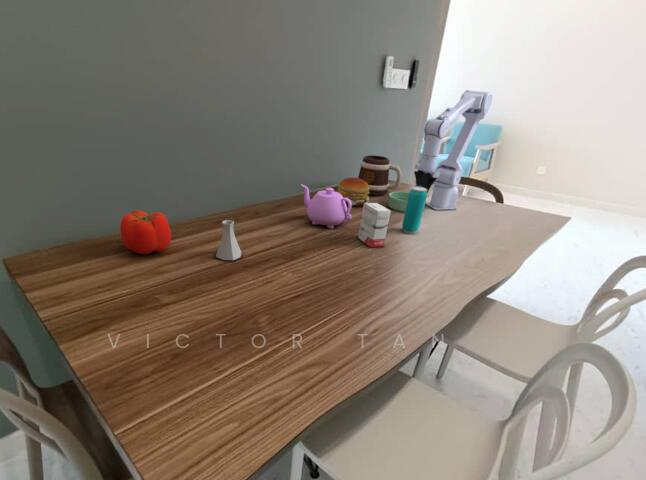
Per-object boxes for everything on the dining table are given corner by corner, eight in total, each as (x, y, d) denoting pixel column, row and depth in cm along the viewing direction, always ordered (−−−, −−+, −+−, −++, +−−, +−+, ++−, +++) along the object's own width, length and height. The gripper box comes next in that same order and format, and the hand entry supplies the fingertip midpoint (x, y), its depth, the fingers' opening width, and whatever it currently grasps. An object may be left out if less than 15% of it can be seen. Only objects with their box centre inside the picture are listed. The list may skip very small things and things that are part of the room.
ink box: (384, 246, 124) (391, 210, 118) (370, 248, 122) (377, 211, 116) (370, 236, 131) (376, 201, 125) (357, 237, 129) (363, 202, 123)
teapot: (289, 221, 138) (291, 187, 132) (307, 211, 149) (309, 179, 143) (342, 234, 131) (347, 198, 125) (356, 222, 142) (362, 188, 135)
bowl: (412, 202, 168) (414, 191, 166) (429, 212, 157) (431, 201, 154) (381, 202, 165) (383, 191, 163) (396, 213, 154) (399, 202, 151)
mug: (349, 192, 175) (354, 157, 168) (359, 185, 187) (364, 152, 179) (394, 200, 168) (401, 164, 161) (401, 193, 180) (408, 159, 172)
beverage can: (416, 229, 139) (426, 186, 132) (419, 235, 134) (430, 191, 127) (400, 227, 140) (409, 185, 132) (402, 233, 135) (412, 190, 127)
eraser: (425, 194, 154) (427, 184, 152) (429, 196, 151) (432, 187, 149) (411, 194, 152) (413, 184, 150) (415, 196, 149) (417, 187, 147)
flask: (245, 253, 113) (245, 220, 108) (234, 263, 108) (234, 228, 102) (223, 248, 115) (222, 215, 110) (211, 258, 109) (209, 223, 104)
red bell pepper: (112, 254, 108) (106, 217, 103) (143, 237, 119) (139, 203, 113) (154, 263, 104) (150, 226, 99) (182, 246, 115) (179, 211, 110)
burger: (336, 196, 169) (338, 172, 164) (367, 199, 168) (371, 175, 162) (334, 206, 157) (337, 180, 152) (368, 209, 156) (373, 184, 151)
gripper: (410, 151, 149) (403, 187, 156) (430, 159, 137) (421, 197, 144) (427, 151, 150) (419, 187, 157) (448, 159, 138) (438, 197, 145)
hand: (421, 192), depth 151 cm, fingers closed on eraser, 3 cm apart
